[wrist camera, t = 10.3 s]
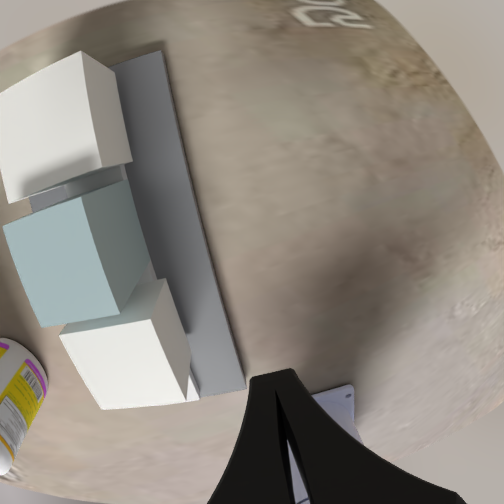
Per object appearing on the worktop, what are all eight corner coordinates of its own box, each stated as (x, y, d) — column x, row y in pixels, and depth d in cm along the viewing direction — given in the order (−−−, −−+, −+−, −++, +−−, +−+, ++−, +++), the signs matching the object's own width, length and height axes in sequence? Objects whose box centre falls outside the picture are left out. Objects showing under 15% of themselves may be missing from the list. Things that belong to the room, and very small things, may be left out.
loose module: (150, 259, 17) (120, 313, 11) (88, 274, 17) (41, 327, 11) (127, 178, 15) (80, 196, 10) (64, 199, 15) (2, 226, 10)
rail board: (245, 380, 22) (254, 446, 16) (122, 398, 22) (104, 458, 16) (163, 54, 15) (137, 13, 9) (20, 113, 15) (-43, 109, 9)
